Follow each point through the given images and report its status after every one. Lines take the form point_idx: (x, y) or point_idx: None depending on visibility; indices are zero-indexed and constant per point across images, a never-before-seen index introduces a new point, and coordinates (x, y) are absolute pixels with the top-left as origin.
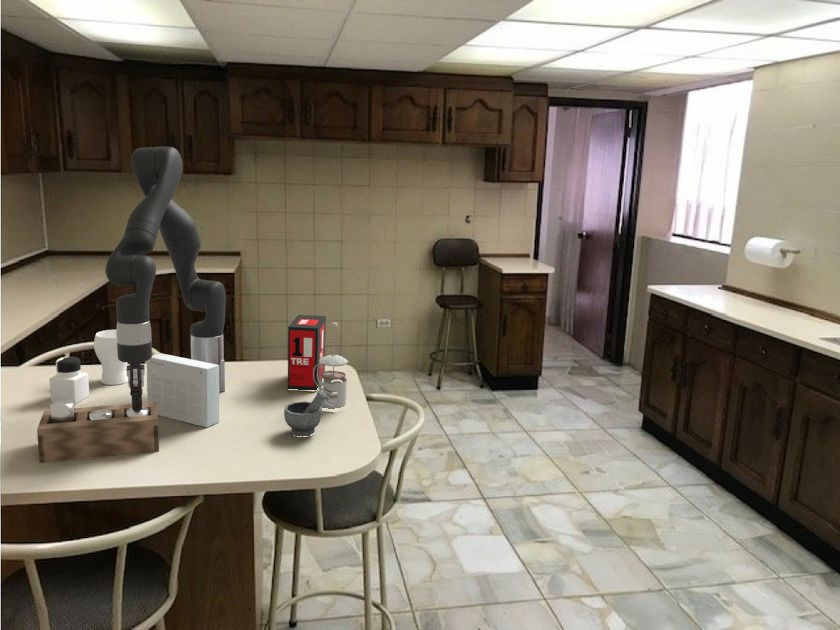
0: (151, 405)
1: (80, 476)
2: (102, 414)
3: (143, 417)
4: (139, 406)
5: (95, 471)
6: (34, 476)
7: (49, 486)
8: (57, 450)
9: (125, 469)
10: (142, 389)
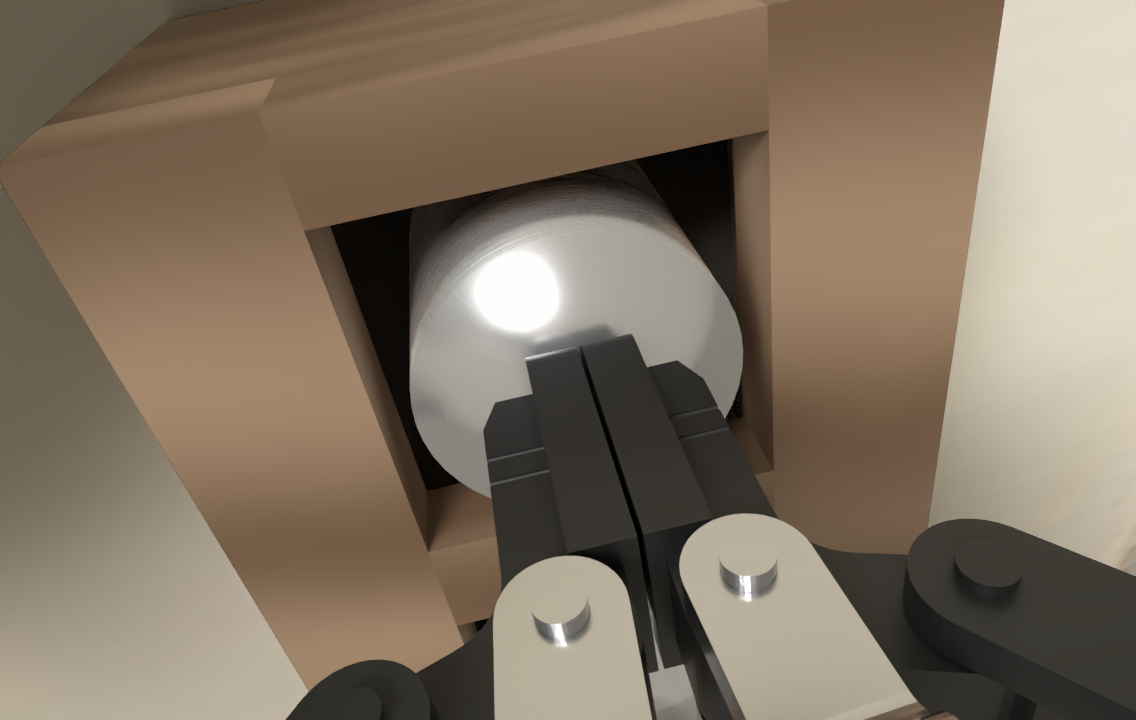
0: (241, 231)
1: (1051, 408)
2: (687, 675)
3: (844, 227)
4: (703, 393)
5: (1014, 348)
6: None
7: (1107, 506)
8: None
9: (1077, 150)
10: (569, 623)
